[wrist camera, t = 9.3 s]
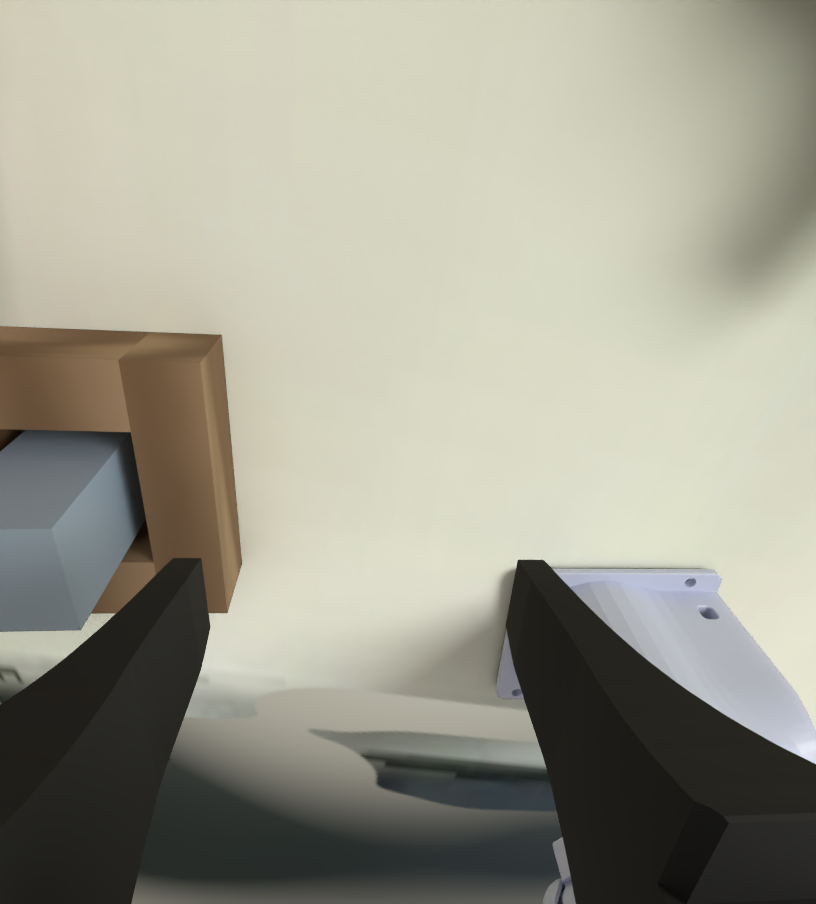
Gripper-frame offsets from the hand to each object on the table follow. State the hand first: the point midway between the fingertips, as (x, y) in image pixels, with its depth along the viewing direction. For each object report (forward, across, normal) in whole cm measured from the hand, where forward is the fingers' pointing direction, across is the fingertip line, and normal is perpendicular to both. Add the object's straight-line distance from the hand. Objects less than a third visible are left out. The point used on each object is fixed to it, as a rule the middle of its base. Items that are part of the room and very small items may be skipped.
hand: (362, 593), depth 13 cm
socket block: (+10, +10, +2) cm, 14 cm away
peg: (+10, +10, +2) cm, 14 cm away
